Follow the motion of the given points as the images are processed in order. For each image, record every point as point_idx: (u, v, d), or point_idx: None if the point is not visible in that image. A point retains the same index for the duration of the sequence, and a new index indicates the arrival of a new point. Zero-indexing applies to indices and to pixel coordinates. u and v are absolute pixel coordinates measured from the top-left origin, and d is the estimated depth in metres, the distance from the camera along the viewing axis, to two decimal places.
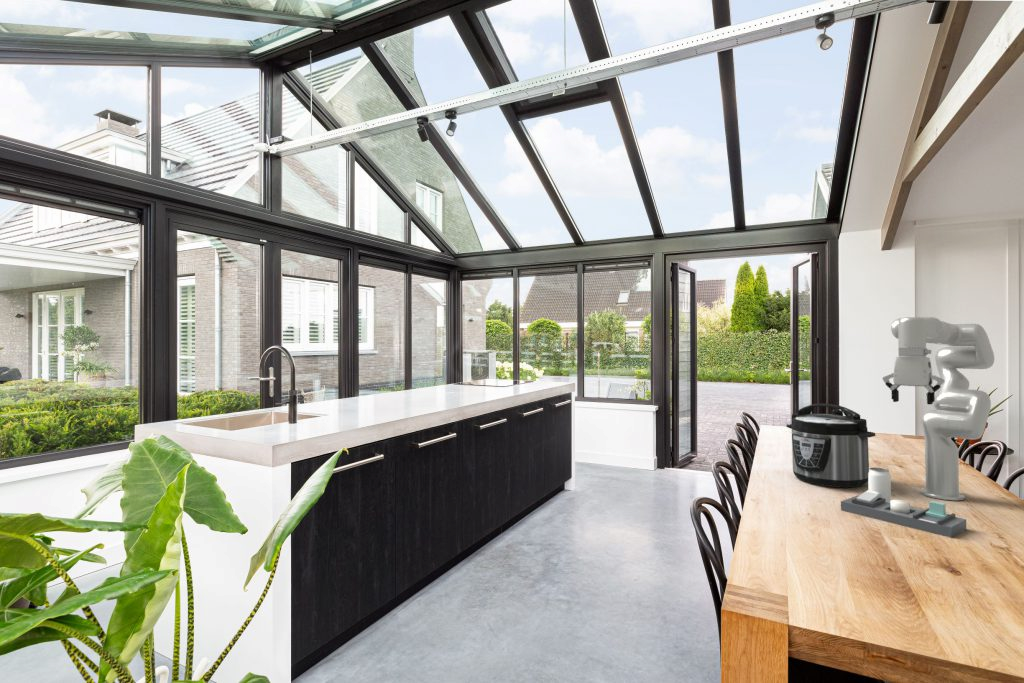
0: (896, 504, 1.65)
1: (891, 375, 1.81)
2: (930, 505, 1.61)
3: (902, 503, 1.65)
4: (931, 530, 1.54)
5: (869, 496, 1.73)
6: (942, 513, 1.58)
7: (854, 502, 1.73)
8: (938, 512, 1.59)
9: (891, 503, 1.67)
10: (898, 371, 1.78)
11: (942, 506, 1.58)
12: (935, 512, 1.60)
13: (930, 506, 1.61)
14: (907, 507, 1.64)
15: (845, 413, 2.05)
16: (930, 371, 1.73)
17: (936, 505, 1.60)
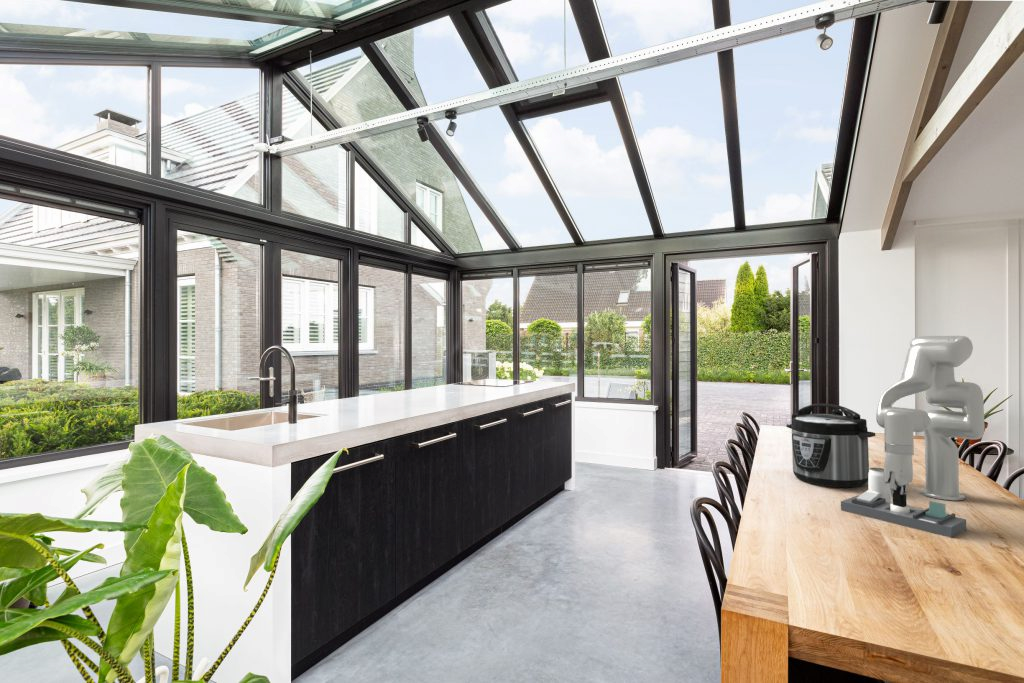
0: (896, 508, 1.65)
1: (895, 480, 1.63)
2: (930, 505, 1.61)
3: (902, 507, 1.65)
4: (931, 530, 1.54)
5: (869, 496, 1.73)
6: (942, 513, 1.58)
7: (854, 502, 1.73)
8: (938, 512, 1.59)
9: (891, 506, 1.67)
10: (902, 471, 1.63)
11: (942, 506, 1.58)
12: (935, 512, 1.60)
13: (930, 506, 1.61)
14: (907, 511, 1.64)
15: (845, 413, 2.05)
16: None
17: (936, 505, 1.60)
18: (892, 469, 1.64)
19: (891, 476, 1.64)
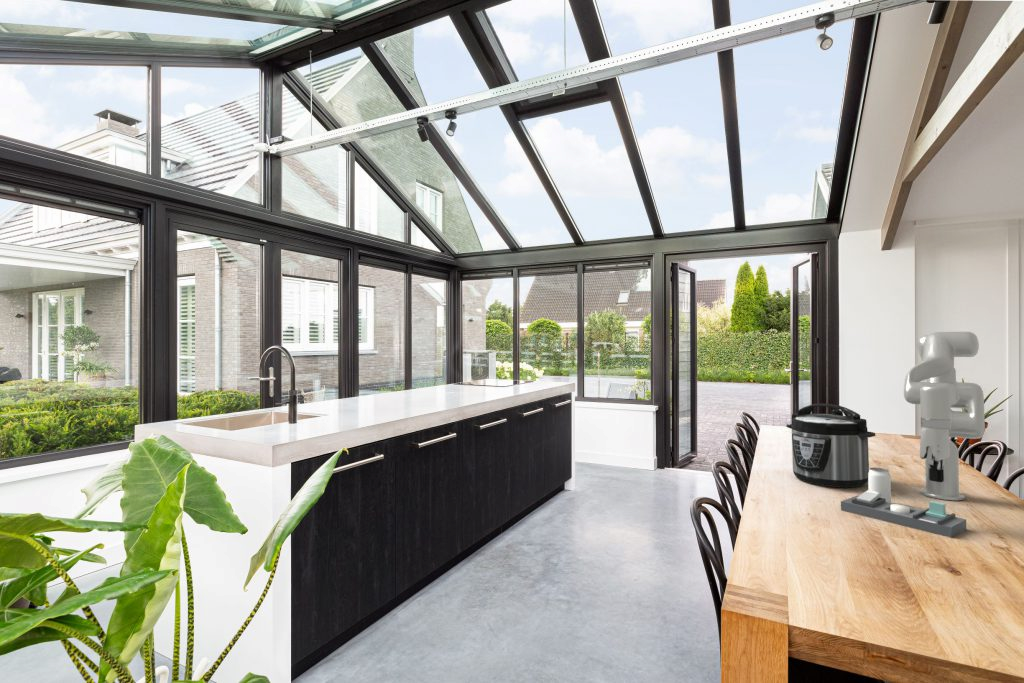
0: (896, 509, 1.65)
1: (932, 455, 1.62)
2: (930, 505, 1.61)
3: (902, 508, 1.65)
4: (931, 530, 1.54)
5: (869, 496, 1.73)
6: (942, 513, 1.58)
7: (854, 502, 1.73)
8: (938, 512, 1.59)
9: (891, 508, 1.67)
10: (939, 446, 1.61)
11: (942, 506, 1.58)
12: (935, 512, 1.60)
13: (930, 506, 1.61)
14: (907, 512, 1.64)
15: (845, 413, 2.05)
16: None
17: (936, 505, 1.60)
18: (929, 444, 1.62)
19: (928, 451, 1.62)
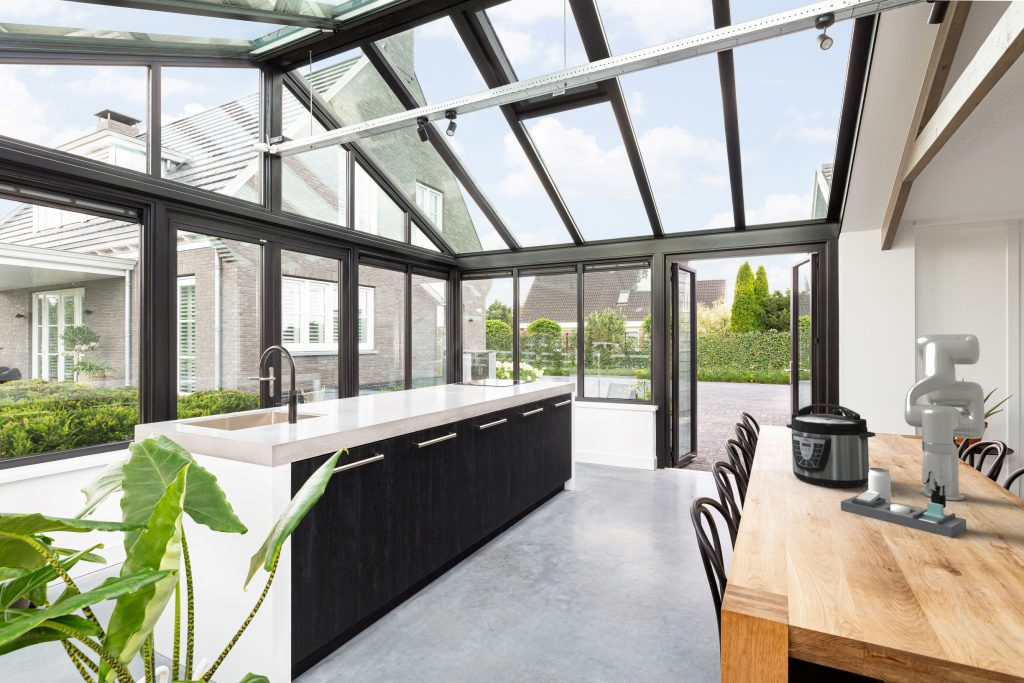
0: (896, 509, 1.65)
1: (934, 480, 1.58)
2: (928, 506, 1.60)
3: (902, 508, 1.65)
4: (931, 530, 1.54)
5: (869, 496, 1.73)
6: (940, 514, 1.57)
7: (854, 502, 1.73)
8: (936, 513, 1.58)
9: (891, 508, 1.67)
10: (942, 471, 1.57)
11: (940, 507, 1.57)
12: (933, 513, 1.59)
13: (928, 507, 1.60)
14: (907, 512, 1.64)
15: (845, 413, 2.05)
16: None
17: (934, 506, 1.59)
18: (931, 469, 1.58)
19: (930, 476, 1.58)
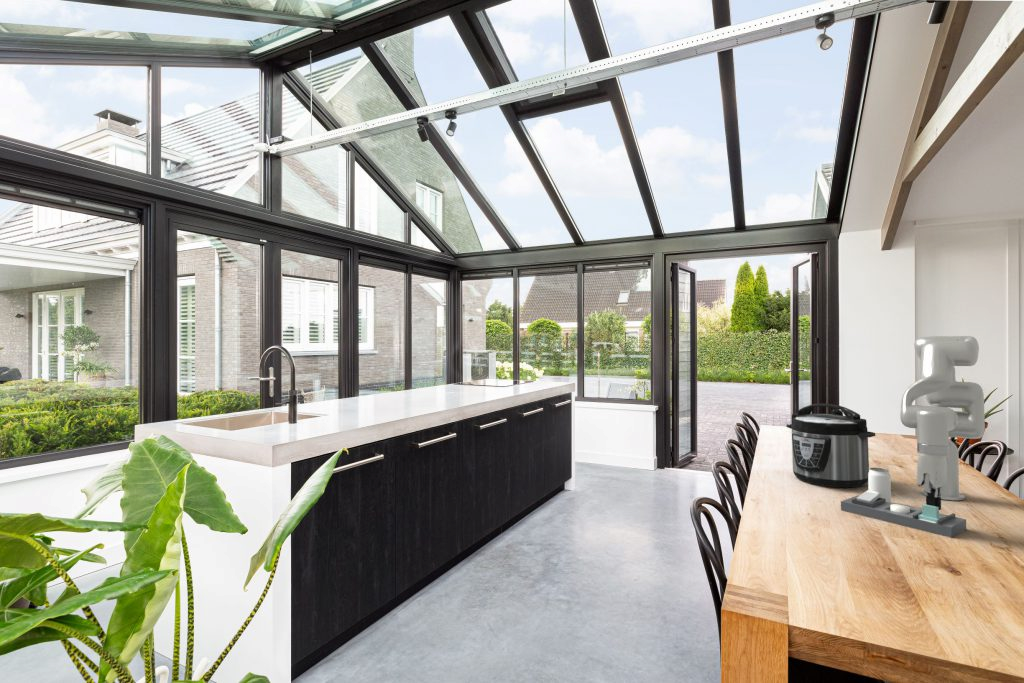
0: (896, 509, 1.65)
1: (930, 482, 1.56)
2: (923, 508, 1.58)
3: (902, 508, 1.65)
4: (931, 530, 1.54)
5: (869, 496, 1.73)
6: (935, 516, 1.55)
7: (854, 502, 1.73)
8: (931, 515, 1.56)
9: (891, 508, 1.67)
10: (937, 473, 1.55)
11: (935, 509, 1.55)
12: (928, 515, 1.57)
13: (923, 509, 1.58)
14: (907, 512, 1.64)
15: (845, 413, 2.05)
16: None
17: (929, 508, 1.57)
18: (926, 471, 1.56)
19: (925, 478, 1.56)
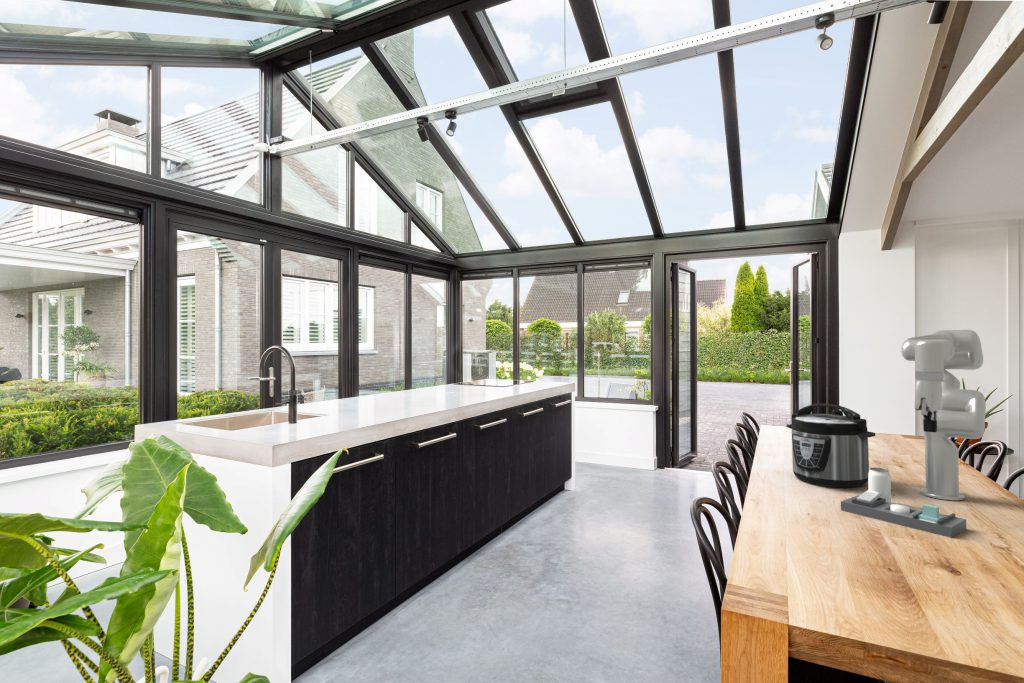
0: (896, 509, 1.65)
1: (926, 406, 1.70)
2: (923, 508, 1.58)
3: (902, 508, 1.65)
4: (931, 530, 1.54)
5: (869, 496, 1.73)
6: (935, 516, 1.56)
7: (854, 502, 1.73)
8: (931, 515, 1.56)
9: (891, 508, 1.67)
10: (933, 397, 1.69)
11: (935, 509, 1.56)
12: (928, 515, 1.57)
13: (923, 509, 1.58)
14: (907, 512, 1.64)
15: (845, 413, 2.05)
16: None
17: (929, 508, 1.57)
18: (923, 395, 1.70)
19: (922, 402, 1.70)
